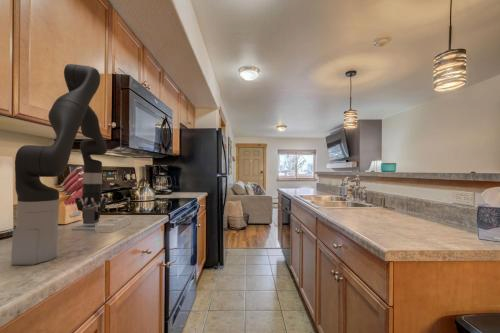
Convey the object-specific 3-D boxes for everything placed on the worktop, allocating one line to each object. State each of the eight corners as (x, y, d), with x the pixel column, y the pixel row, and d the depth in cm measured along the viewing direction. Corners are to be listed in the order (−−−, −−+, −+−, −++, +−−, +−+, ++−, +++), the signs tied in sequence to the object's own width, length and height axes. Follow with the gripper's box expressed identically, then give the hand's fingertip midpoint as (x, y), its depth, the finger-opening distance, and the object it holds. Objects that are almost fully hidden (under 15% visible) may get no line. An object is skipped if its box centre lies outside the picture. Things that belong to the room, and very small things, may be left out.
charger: (93, 223, 109) (93, 208, 109) (83, 223, 109) (83, 208, 109) (98, 221, 113) (99, 207, 113) (89, 221, 113) (89, 206, 113)
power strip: (112, 232, 103) (112, 223, 103) (94, 232, 102) (95, 222, 102) (130, 223, 121) (131, 215, 121) (116, 223, 120) (116, 215, 120)
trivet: (95, 230, 106) (95, 228, 106) (72, 230, 105) (72, 228, 106) (107, 225, 116) (107, 224, 116) (86, 225, 115) (86, 223, 115)
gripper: (70, 182, 107) (69, 221, 107) (104, 183, 108) (102, 221, 107) (81, 182, 115) (80, 218, 114) (112, 182, 115) (111, 218, 115)
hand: (91, 219), depth 111 cm, fingers closed on charger, 4 cm apart
